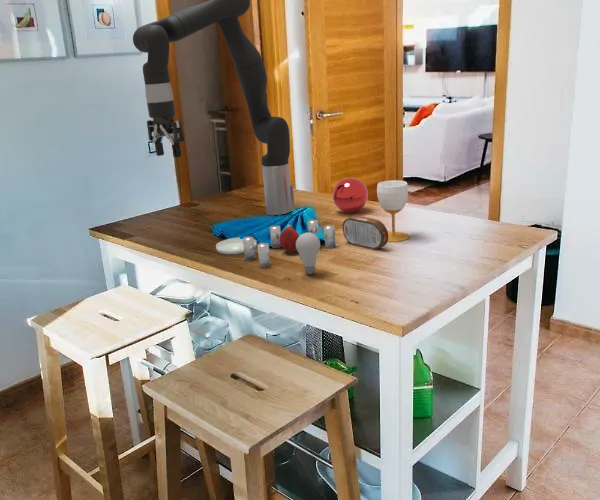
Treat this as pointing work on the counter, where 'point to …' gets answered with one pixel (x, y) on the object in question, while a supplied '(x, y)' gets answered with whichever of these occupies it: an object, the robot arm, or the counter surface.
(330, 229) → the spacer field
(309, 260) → the lightbulb
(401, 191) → the cup
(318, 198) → the counter surface
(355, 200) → the ball
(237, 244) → the dish
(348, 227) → the tin
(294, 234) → the onion
